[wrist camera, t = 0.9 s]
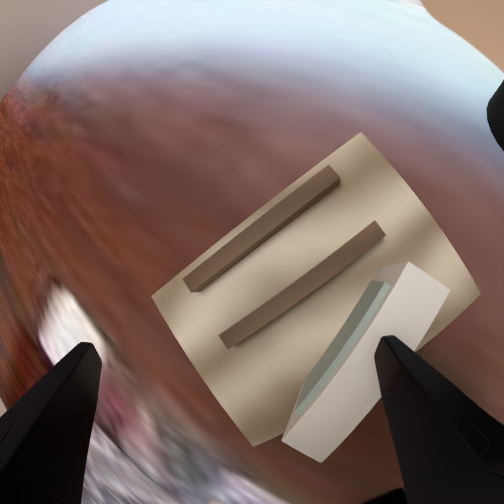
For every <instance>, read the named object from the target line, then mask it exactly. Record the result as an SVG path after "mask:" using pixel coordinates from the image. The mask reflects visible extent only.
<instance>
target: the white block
mask: <svg viewBox="0 0 504 504" xmlns="http://www.w3.org/2000/svg"><path fill="white" fill-rule="evenodd" d="M449 291H450V289H448V288H447V287H446V286H444V285H443V284H441V283H440V282H438V281H437V280H436V279H434V278H433V277H431V276H430V275H428V274H427V273H425V272H424V271H422V270H421V269H419V268H418V267H416V266H415V265H413V264H412V263H410V262H409V261H407V262H403V263H398V264H394V265H389V266H385V267H381V268H380V270H379V272H378V274H377V275H376V277H375V279H374V280H373V281H370V283H369V285H368V286H367V288H366V290H365V291H364V293H363V295H362V296H361V298H360V299H359V301H358V303H357V304H356V306H355V307H354V309H353V310H352V312H351V314H350V315H349V317H348V318H347V320H346V321H345V323H344V324H343V326H342V327H341V329H340V330H339V332H338V333H337V335H336V336H335V338H334V339H333V341H332V342H331V344H330V345H329V346H328V348H327V349H326V351H325V352H324V354H323V355H322V356H321V358H320V359H319V361H318V362H317V363H316V365H315V366H314V367H313V369H312V370H311V372H310V373H309V374H308V376H307V377H306V379H305V382H304V384H303V385H302V388H301V390H300V393H299V396H298V399H297V401H296V404H295V407H294V409H293V412H292V415H291V417H290V420H289V422H288V425H287V427H286V430H285V432H284V435H283V437H282V440H281V441H283V442H284V443H286V444H288V445H289V446H291V447H293V448H294V449H296V450H298V451H300V452H301V453H303V454H305V455H307V456H309V457H310V458H312V459H314V460H316V461H318V462H320V463H322V462H323V461H324V460H325V459H326V458H327V457H328V456H329V455H330V454H331V453H332V452H333V451H334V450H335V449H336V448H337V447H338V446H339V445H340V444H341V443H342V442H343V441H344V440H345V438H346V437H347V436H348V435H349V434H350V433H351V432H352V431H353V430H354V429H355V427H356V426H357V425H358V424H359V423H360V422H361V421H362V419H363V418H364V417H365V416H366V415H367V414H368V412H369V411H370V410H371V409H372V408H373V406H374V405H375V404H376V403H377V401H378V400H379V399H380V398H381V393H380V387H379V382H378V376H377V371H376V366H375V361H374V354H375V351H376V348H377V346H378V343H379V341H380V339H381V337H382V336H387V335H395V336H396V337H397V338H399V339H400V340H401V341H402V342H403V343H405V344H406V345H407V346H408V347H410V348H411V349H412V350H413V351H415V349H416V348H417V346H418V345H419V343H420V341H421V340H422V338H423V337H424V335H425V333H426V332H427V330H428V329H429V327H430V325H431V324H432V322H433V320H434V318H435V317H436V315H437V313H438V312H439V310H440V308H441V306H442V304H443V303H444V301H445V299H446V297H447V295H448V293H449Z"/></svg>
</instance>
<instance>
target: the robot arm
mask: <svg viewBox="0 0 504 504" xmlns="http://www.w3.org/2000/svg"><path fill="white" fill-rule="evenodd" d="M374 361H375V366H376V371H377V376H378V382H379V387H380V393H381V398H382V402H383V406H384V409H385V413H386V416H387V420H388V423H389V427H390V431H391V434H392V438H393V442H394V446H395V450H396V454H397V458H398V462H399V466H400V470H401V475H402V479H403V484H404V488H405V491H404V490H403V489H401V488H400V489H396V490H395V491H393V492H391V493H389V494H387V495H385V496H383V497H380V498H378V499H376V500H374V501H372V502H370V503H367V504H504V425H503V424H502V423H500V422H499V421H497V420H496V419H495V418H493V417H492V416H491V415H489V414H488V413H487V412H485V411H484V410H483V409H482V408H481V407H479V406H478V405H477V404H476V403H475V402H474V401H472V400H471V399H469V397H468V396H466V395H465V394H464V393H463V392H462V391H461V390H459V389H458V388H457V387H456V386H455V385H454V384H452V383H451V382H450V381H449V380H448V379H447V378H445V377H444V376H443V375H442V374H441V373H439V372H438V371H437V370H436V369H435V368H434V367H432V366H431V365H430V364H429V363H428V362H426V361H425V360H424V359H423V358H422V357H420V356H419V355H418V354H417V353H416V352H414V351H413V350H412V349H411V348H410V347H408V346H407V345H406V344H405V343H403V342H402V341H401V340H400V339H399V338H397V337H396V336H395V335H387V336H382V337H381V339H380V341H379V343H378V346H377V348H376V351H375V354H374ZM101 368H102V361H101V358H100V356H99V354H98V352H97V351H96V349H95V347H94V345H93V344H92V343H89V342H80V343H79V344H78V345H77V346H75V347H74V348H73V349H72V350H71V351H70V352H69V353H68V354H67V355H65V356H64V357H63V358H62V359H61V360H60V361H59V362H58V363H57V364H56V365H55V366H53V367H52V368H51V369H50V370H49V371H48V372H47V373H46V374H45V375H44V376H43V377H42V378H41V379H39V380H38V381H37V382H36V383H35V384H34V385H33V386H32V387H31V388H30V389H29V390H28V391H27V392H26V393H25V394H24V395H23V396H22V397H21V398H20V399H19V400H18V401H17V402H15V403H14V404H13V405H12V407H10V408H9V409H8V410H7V411H6V412H5V413H4V414H3V415H2V416H1V417H0V504H81V499H82V490H83V482H84V474H85V467H86V460H87V454H88V448H89V442H90V437H91V432H92V426H93V421H94V417H95V412H96V407H97V400H98V391H99V383H100V375H101ZM398 493H400V494H398Z"/></svg>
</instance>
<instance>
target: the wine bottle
mask: <svg viewBox="0 0 504 504" xmlns="http://www.w3.org/2000/svg"><path fill="white" fill-rule="evenodd" d="M487 120H488V123H489V126H490V129H491V132H492V134H493V135H494V137H495V139H496V141H497V143H498V144H499V145H500V147H501V148H502V149H503V150H504V80H503V82H502V83H501V85H500V86H499V88H498V89H497V91H496V92H495V93H494V95H493V96H492V98H491V99H490V101H489V103H488V106H487Z"/></svg>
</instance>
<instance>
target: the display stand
mask: <svg viewBox="0 0 504 504" xmlns="http://www.w3.org/2000/svg"><path fill="white" fill-rule="evenodd" d="M407 261H409V262H410V263H412V264H413V265H415V266H416V267H418V268H419V269H421V270H422V271H424V272H425V273H427V274H428V275H430V276H431V277H433V278H434V279H436V280H437V281H438V282H440V283H441V284H443V285H444V286H446V287H447V288H448V289H450V291H449V293H448V295H447V297H446V299H445V301H444V303H443V304H442V306H441V308H440V310H439V312H438V313H437V315H436V317H435V318H434V320H433V322H432V324H431V325H430V327H429V329H428V330H427V332H426V333H425V335H424V337H423V338H422V340H421V341H420V343H419V345H418V346H417V348H416V349H415V351H414V352H416V351H417V350H418V349H420V348H421V347H422V346H423V345H425V344H426V343H427V342H428V341H430V340H431V339H432V338H433V337H434V336H436V335H437V334H438V333H439V332H440V331H442V330H443V329H444V328H445V327H446V326H447V325H448V324H450V323H451V322H452V321H453V320H454V319H455V318H456V317H457V316H459V315H460V314H461V313H462V312H463V311H464V310H465V309H466V308H467V307H468V306H469V305H470V304H471V303H472V302H473V301H474V300H475V299H476V298H477V297H478V296H479V295H480V294H481V293H480V291H479V289H478V287H477V286H476V284H475V282H474V280H473V279H472V277H471V275H470V274H469V272H468V270H467V269H466V267H465V265H464V264H463V262H462V260H461V259H460V257H459V256H458V254H457V252H456V251H455V249H454V248H453V246H452V245H451V243H450V242H449V240H448V239H447V237H446V236H445V234H444V233H443V231H442V230H441V229H440V227H439V226H438V224H437V223H436V221H435V220H434V219H433V217H432V216H431V215H430V213H429V212H428V210H427V209H426V208H425V206H424V205H423V204H422V203H421V201H420V200H419V199H418V197H417V196H416V195H415V194H414V192H413V191H412V190H411V188H410V187H409V186H408V185H407V184H406V182H405V181H404V180H403V179H402V177H401V176H400V175H399V174H398V173H397V171H396V170H395V169H394V168H393V167H392V166H391V165H390V163H389V162H388V161H387V160H386V159H385V158H384V157H383V155H382V154H381V153H380V152H379V151H378V150H377V149H376V148H375V147H374V146H373V145H372V143H371V142H370V141H369V140H368V139H367V138H366V137H365V136H364V135H363V134H362V133H361V132H360V133H359V134H358V135H356V136H355V137H354V138H352V139H351V140H349V141H348V142H347V143H345V144H344V145H343V146H341V147H340V148H339V149H337V150H336V151H335V152H333V153H332V154H331V155H329V156H328V157H327V158H325V159H324V160H323V161H321V162H320V163H319V164H317V165H316V166H315V167H313V168H312V169H311V170H309V171H308V172H307V173H305V174H304V175H303V176H301V177H300V178H299V179H298V180H296V181H295V182H294V183H292V184H291V185H290V186H288V187H287V188H286V189H284V190H283V191H282V192H281V193H279V194H278V195H277V196H275V197H274V198H273V199H272V200H270V201H269V202H268V203H266V204H265V205H264V206H263V207H261V208H260V209H259V210H257V211H256V212H255V213H254V214H252V215H251V216H250V217H249V218H247V219H246V220H245V221H243V222H242V223H241V224H240V225H238V226H237V227H236V228H235V229H233V230H232V231H231V232H230V233H228V234H227V235H226V236H225V237H223V238H222V239H221V240H220V241H218V242H217V243H216V244H215V245H213V246H212V247H211V248H210V249H208V250H207V251H206V252H205V253H203V254H202V255H201V256H200V257H199V258H197V259H196V260H195V261H194V262H192V263H191V264H190V265H189V266H188V267H186V268H185V269H184V270H183V271H181V272H180V273H179V274H178V275H177V276H175V277H174V278H173V279H172V280H171V281H169V282H168V283H167V284H166V285H164V286H163V287H162V288H161V289H160V290H158V291H157V292H156V293H155V294H154V295H153V296H151V297H152V298H153V300H154V302H155V304H156V305H157V307H158V309H159V311H160V312H161V314H162V316H163V317H164V319H165V321H166V322H167V324H168V326H169V327H170V329H171V331H172V332H173V334H174V336H175V337H176V339H177V340H178V342H179V344H180V345H181V347H182V348H183V350H184V351H185V353H186V355H187V356H188V358H189V359H190V361H191V362H192V364H193V365H194V367H195V368H196V370H197V371H198V373H199V374H200V376H201V377H202V379H203V380H204V382H205V383H206V384H207V386H208V387H209V389H210V390H211V392H212V393H213V394H214V396H215V397H216V399H217V400H218V401H219V403H220V404H221V406H222V407H223V408H224V410H225V411H226V412H227V414H228V415H229V416H230V418H231V419H232V420H233V422H234V423H235V424H236V426H237V427H238V428H239V429H240V431H241V432H242V433H243V435H244V436H245V437H246V438H247V440H248V441H249V442H250V443H251V445H252V446H253V447H254V446H257V445H259V444H261V443H263V442H266V441H268V440H270V439H272V438H275V437H277V436H279V435H281V434H283V433H284V432H285V430H286V427H287V425H288V422H289V420H290V417H291V415H292V412H293V409H294V407H295V404H296V401H297V399H298V396H299V393H300V390H301V388H302V385H303V384H304V382H305V379H306V377H307V376H308V374H309V373H310V372H311V370H312V369H313V367H314V366H315V365H316V363H317V362H318V361H319V359H320V358H321V356H322V355H323V354H324V352H325V351H326V349H327V348H328V346H329V345H330V344H331V342H332V341H333V339H334V338H335V336H336V335H337V333H338V332H339V330H340V329H341V327H342V326H343V324H344V323H345V321H346V320H347V318H348V317H349V315H350V314H351V312H352V310H353V309H354V307H355V306H356V304H357V303H358V301H359V299H360V298H361V296H362V295H363V293H364V291H365V290H366V288H367V286H368V285H369V283H370V281H373V280H374V279H375V277H376V275H377V274H378V272H379V270H380V268H381V267H385V266H389V265H394V264H398V263H403V262H407Z"/></svg>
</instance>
